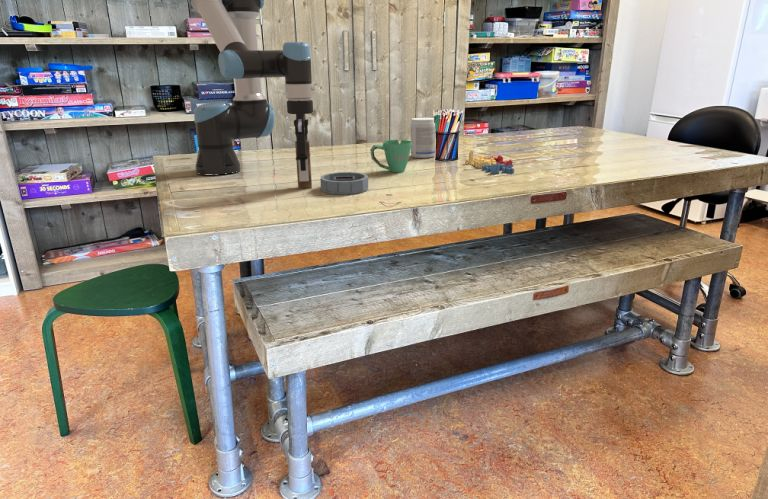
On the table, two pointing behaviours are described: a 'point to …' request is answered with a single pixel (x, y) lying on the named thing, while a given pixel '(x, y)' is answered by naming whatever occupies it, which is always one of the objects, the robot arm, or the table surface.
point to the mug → (394, 154)
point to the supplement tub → (422, 137)
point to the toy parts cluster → (490, 163)
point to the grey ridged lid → (344, 183)
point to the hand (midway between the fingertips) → (304, 179)
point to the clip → (344, 178)
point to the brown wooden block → (308, 183)
